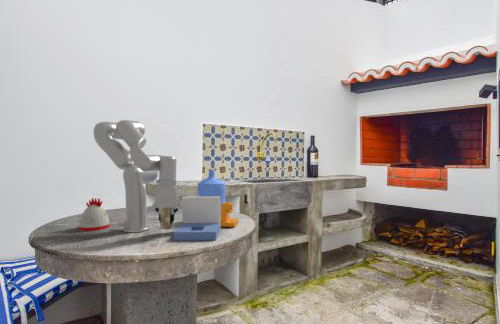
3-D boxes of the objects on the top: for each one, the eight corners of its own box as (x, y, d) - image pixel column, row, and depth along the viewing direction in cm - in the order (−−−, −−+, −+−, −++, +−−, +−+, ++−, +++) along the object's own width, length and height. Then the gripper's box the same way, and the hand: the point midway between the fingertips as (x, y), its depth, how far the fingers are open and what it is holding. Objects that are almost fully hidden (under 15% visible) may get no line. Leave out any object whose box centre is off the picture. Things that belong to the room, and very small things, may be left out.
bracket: (233, 228, 153) (233, 204, 152) (219, 227, 154) (219, 203, 154) (238, 223, 163) (238, 201, 163) (225, 223, 165) (225, 200, 164)
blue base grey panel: (173, 240, 130) (173, 202, 130) (183, 229, 150) (183, 196, 150) (215, 240, 131) (215, 202, 130) (220, 229, 151) (220, 196, 150)
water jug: (214, 216, 185) (214, 169, 184) (231, 219, 173) (230, 170, 173) (192, 219, 174) (191, 170, 174) (208, 224, 162) (207, 171, 162)
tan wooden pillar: (160, 229, 139) (160, 207, 139) (163, 225, 145) (164, 204, 145) (169, 229, 139) (169, 207, 139) (172, 226, 145) (173, 205, 145)
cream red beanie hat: (100, 231, 148) (99, 200, 148) (72, 231, 149) (72, 200, 149) (114, 224, 162) (114, 196, 162) (89, 224, 163) (89, 196, 162)
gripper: (146, 183, 137) (145, 223, 138) (184, 184, 137) (182, 225, 138) (151, 181, 145) (151, 220, 146) (187, 182, 145) (186, 221, 146)
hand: (166, 222), depth 142 cm, fingers closed on tan wooden pillar, 4 cm apart
